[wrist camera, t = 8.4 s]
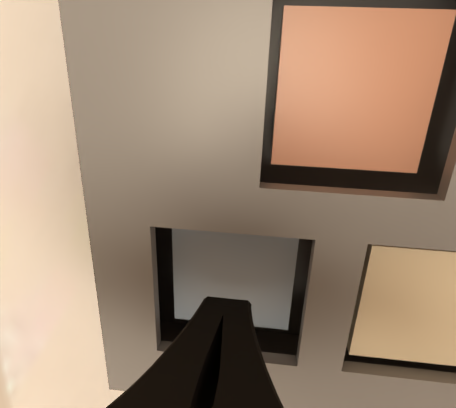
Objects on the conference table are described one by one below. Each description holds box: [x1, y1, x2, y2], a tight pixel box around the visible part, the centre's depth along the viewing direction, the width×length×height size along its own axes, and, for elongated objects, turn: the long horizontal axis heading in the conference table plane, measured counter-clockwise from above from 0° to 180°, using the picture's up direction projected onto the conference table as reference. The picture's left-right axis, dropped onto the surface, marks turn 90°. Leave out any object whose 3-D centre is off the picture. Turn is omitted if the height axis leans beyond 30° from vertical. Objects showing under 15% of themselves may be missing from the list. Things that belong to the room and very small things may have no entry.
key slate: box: [172, 228, 299, 330], centre depth 14 cm, size 4×4×2 cm
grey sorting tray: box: [58, 0, 456, 408], centre depth 12 cm, size 22×18×4 cm
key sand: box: [347, 244, 456, 366], centre depth 13 cm, size 4×4×2 cm
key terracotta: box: [271, 5, 456, 173], centre depth 11 cm, size 4×4×2 cm
